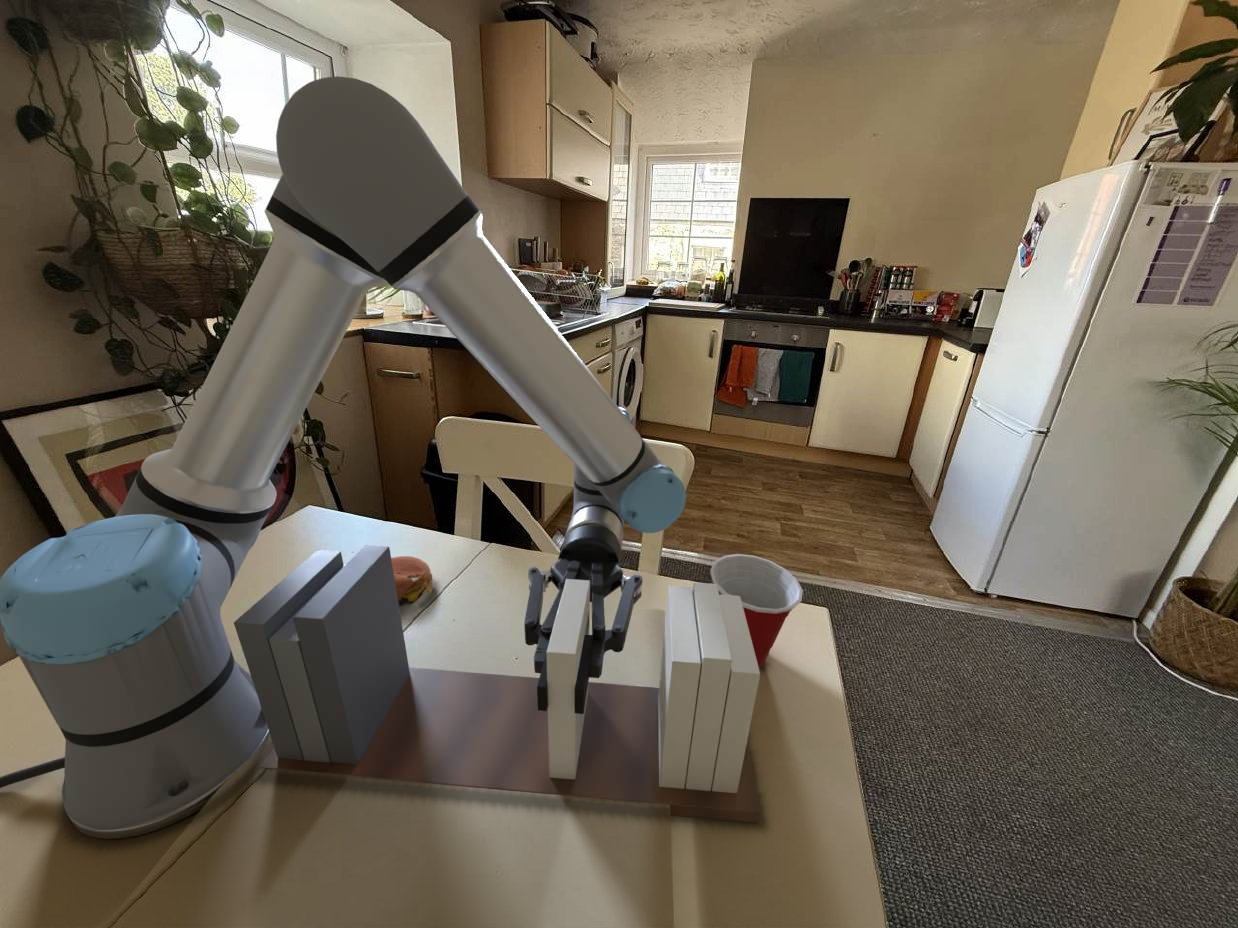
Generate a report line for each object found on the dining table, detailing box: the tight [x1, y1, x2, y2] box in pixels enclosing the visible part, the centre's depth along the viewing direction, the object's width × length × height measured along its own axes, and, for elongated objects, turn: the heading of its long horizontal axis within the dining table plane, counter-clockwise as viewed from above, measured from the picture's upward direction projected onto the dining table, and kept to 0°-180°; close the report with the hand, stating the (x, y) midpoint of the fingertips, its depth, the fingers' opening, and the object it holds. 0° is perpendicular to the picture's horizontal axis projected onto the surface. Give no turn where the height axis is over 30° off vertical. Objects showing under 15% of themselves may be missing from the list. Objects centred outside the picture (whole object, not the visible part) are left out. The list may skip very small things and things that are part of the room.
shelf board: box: [258, 667, 761, 824], centre depth 51 cm, size 46×13×2 cm, turn 86°
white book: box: [547, 579, 591, 780], centre depth 48 cm, size 2×10×15 cm, turn 176°
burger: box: [391, 555, 434, 607], centre depth 71 cm, size 10×9×5 cm
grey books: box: [233, 544, 410, 765], centre depth 48 cm, size 8×11×17 cm
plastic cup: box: [709, 553, 804, 669], centre depth 61 cm, size 11×11×12 cm
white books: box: [658, 582, 761, 793], centre depth 47 cm, size 7×10×16 cm
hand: (560, 699), depth 41 cm, fingers closed on white book, 2 cm apart
